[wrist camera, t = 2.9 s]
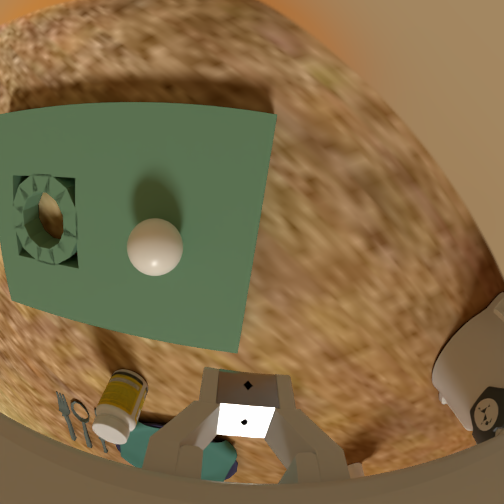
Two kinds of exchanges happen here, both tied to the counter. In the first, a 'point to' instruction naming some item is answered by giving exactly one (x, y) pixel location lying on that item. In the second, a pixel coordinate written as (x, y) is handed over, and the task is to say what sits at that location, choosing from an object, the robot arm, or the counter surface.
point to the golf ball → (155, 247)
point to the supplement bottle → (120, 406)
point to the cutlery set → (214, 455)
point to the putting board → (135, 214)
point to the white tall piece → (355, 470)
